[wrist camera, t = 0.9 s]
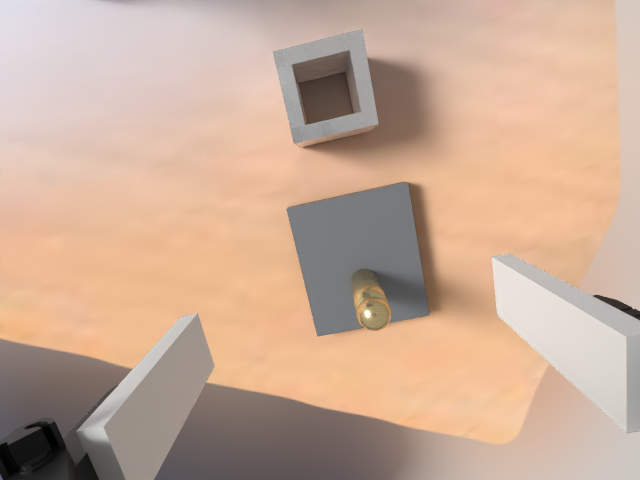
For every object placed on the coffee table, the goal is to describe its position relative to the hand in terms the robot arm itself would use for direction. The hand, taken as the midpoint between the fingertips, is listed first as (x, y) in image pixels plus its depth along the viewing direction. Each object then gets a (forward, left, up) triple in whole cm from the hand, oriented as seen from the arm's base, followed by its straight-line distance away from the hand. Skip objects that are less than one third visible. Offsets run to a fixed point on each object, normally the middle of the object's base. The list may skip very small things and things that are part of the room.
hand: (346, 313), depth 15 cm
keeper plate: (+4, +2, -21) cm, 21 cm away
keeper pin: (+6, +2, -19) cm, 20 cm away
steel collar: (-12, +2, -21) cm, 24 cm away
